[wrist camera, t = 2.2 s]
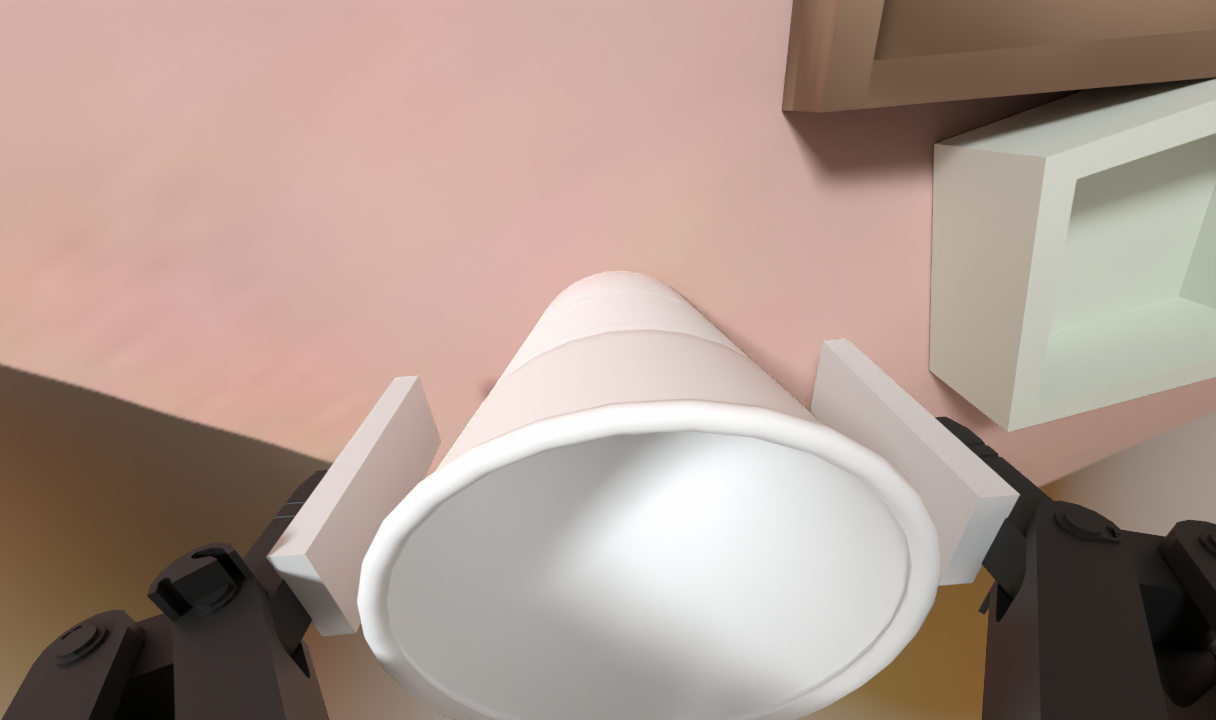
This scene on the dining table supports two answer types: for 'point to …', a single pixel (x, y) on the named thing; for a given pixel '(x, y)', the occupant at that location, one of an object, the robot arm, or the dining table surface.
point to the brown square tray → (987, 48)
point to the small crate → (1077, 252)
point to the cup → (645, 535)
